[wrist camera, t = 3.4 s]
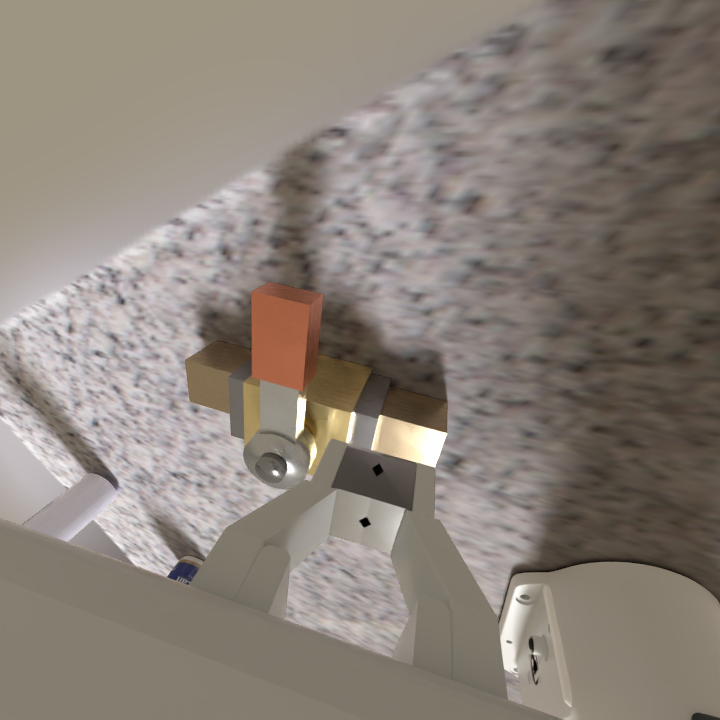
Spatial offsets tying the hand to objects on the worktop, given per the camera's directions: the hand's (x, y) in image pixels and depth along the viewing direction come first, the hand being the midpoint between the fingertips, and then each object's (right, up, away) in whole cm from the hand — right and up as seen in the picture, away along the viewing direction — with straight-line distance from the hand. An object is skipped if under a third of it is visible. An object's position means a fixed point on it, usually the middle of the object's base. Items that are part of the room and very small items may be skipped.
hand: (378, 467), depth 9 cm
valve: (-3, +1, +18) cm, 18 cm away
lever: (-5, +1, +10) cm, 11 cm away
